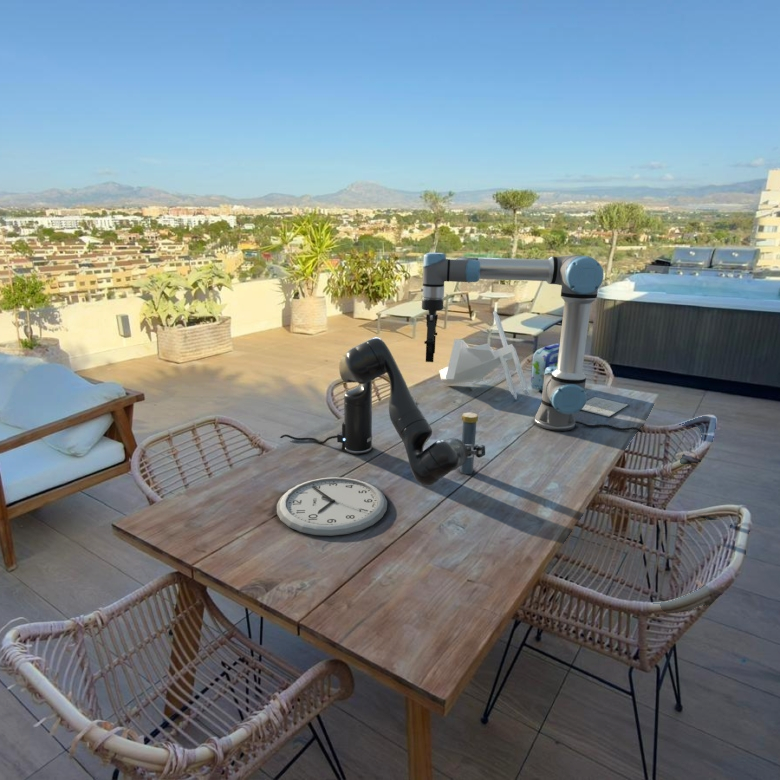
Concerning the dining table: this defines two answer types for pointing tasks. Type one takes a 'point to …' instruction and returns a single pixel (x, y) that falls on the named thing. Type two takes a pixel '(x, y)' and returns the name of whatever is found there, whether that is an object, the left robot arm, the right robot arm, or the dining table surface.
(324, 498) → the wall clock
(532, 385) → the lunch box
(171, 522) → the dining table surface
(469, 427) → the gray cylinder
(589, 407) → the invitation card
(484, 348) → the white plastic object
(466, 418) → the lid
